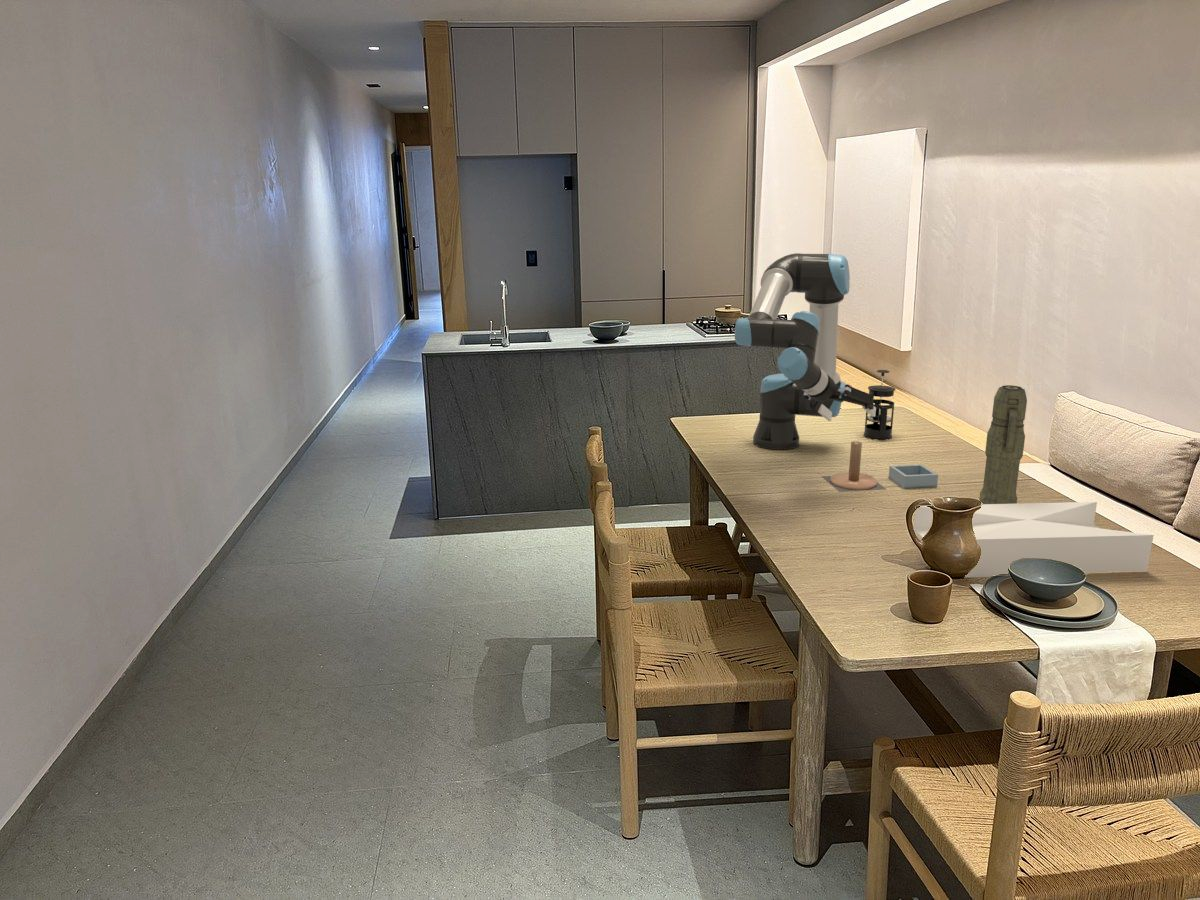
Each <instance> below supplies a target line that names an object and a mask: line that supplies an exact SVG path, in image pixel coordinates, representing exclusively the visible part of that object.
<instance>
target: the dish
mask: <svg viewBox="0 0 1200 900" xmlns="http://www.w3.org/2000/svg"><path fill="white" fill-rule="evenodd" d="M888 468H889V470H888V478H889V479H890V480H891V481H892V482H894V483H895V484H896V485H898V486H899V487H901V488H902V489H905V490H906V489H921V488H922V489H923V488H936V487H937V488H938V480H939V474H938V473H936V472H934V471H933V470H932V469H930V468H928V467H927V466H925V465H924V464H902V465H901V464H900V465H889V467H888Z"/></svg>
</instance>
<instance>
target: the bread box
mask: <svg viewBox="0 0 1200 900" xmlns="http://www.w3.org/2000/svg"><path fill="white" fill-rule="evenodd" d="M1097 505H1098V501H1077V502H1076V501H1072V502H1071V501H1069V502H1068V501H1067V502H1031V503H1029V502H1028V503H1024V502H1023V503H1022V502H1021V503H1017V504H982V506H981V508H980V509H979V510H977V511H976V512H975V513H974V515H973V518H972V525H973V531H974V533H975V534H974V535H975V537H976V540H977V542H978V544H979V546H980V548H981V556H980V559H979V561H978V563H977V565H976V566H975V567H974V569H973V570H972V571H971V572H970V573H968V574H967V575H965V577H964V578H965V579H966V578H991V576H993V575H997V574H1008V565H1009V563H1010V562H1012V561H1014V560H1016V559H1020V558H1047V559H1054V560H1059V561H1063V562H1066V563H1069V564H1072V565H1075V566H1077V567H1079V568H1081V569H1082V570H1083V571H1084V572H1085V573H1086V571H1087V572H1093V571H1094V572H1109V571H1146V570H1147V571H1148V569H1149V565H1150V564H1149V563H1150V558H1151V552H1152V546H1153V540H1154V536H1155V535H1154V534H1148V533H1140V532H1133V531H1123V530H1117V529H1115V530H1114V529H1108V528H1100V527H1099V526H1097V525H1095V518H1096V511H1097ZM919 506H920V507H919V508H917V509H916V508H915V509H916V510H915V509H914V510H915V511H914V512H915V513H914V518H913V519H914V520H913V522H914V523H913V530H914V529H915V532H916V534H917V536H918V538H919V539H920V540H921V539H922V538H923V537H924V535H925V534H926V533H927V532H928V530H929V529H930V527H931V524H932V517H933V514H932V509H931V508H930V507H927V506H928V505H919ZM964 578H963V579H964Z"/></svg>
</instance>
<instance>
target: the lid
mask: <svg viewBox="0 0 1200 900" xmlns="http://www.w3.org/2000/svg"><path fill="white" fill-rule="evenodd" d="M862 448H863V443H862V442H861V441H858V440H857V441H855V440H853V441H851V443H850V453H849V466H848V467H849V468H848V472H839V473H834V474H832V475H830V476H831V479H830V482H831V483H832V484H833V485H835V486H837V487H840V488H844V489H851V490H866V491H868V490H867V489H872V488H874V487H876V486H877V482H878V480H877V478H875V477H874V476H872V475H870V474H867V473H861V472H860V471H861V462H862V461H861V458H862ZM866 474H867V475H866Z"/></svg>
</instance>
